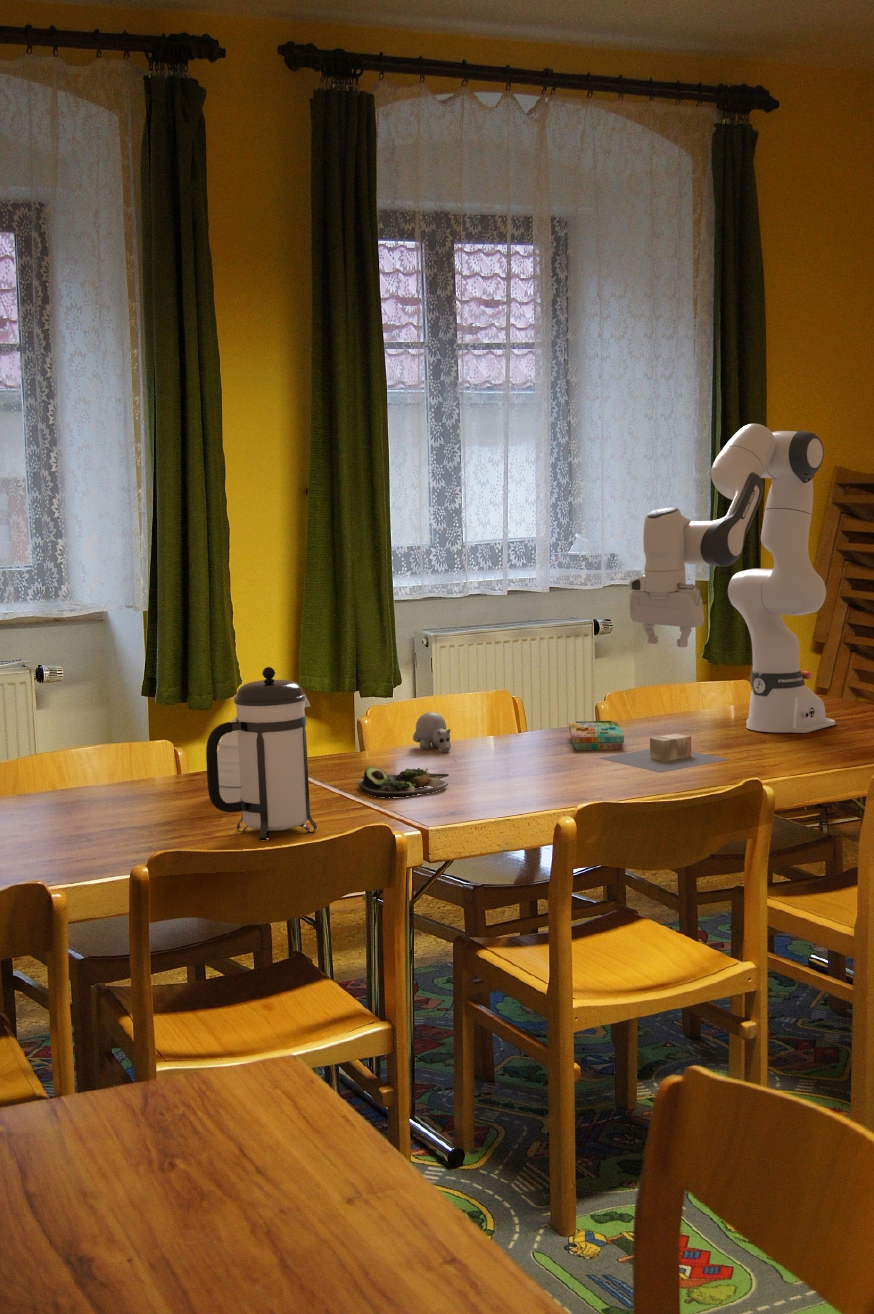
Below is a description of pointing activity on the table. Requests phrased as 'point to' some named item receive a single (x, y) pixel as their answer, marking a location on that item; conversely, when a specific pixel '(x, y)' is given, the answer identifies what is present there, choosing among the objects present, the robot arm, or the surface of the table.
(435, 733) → the round bodied animal figurine
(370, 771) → the salad plate
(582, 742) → the puzzle game
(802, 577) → the robot arm
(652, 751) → the birch block
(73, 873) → the table surface
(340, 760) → the table surface
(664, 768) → the felt mat
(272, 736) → the coffee press
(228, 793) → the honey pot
